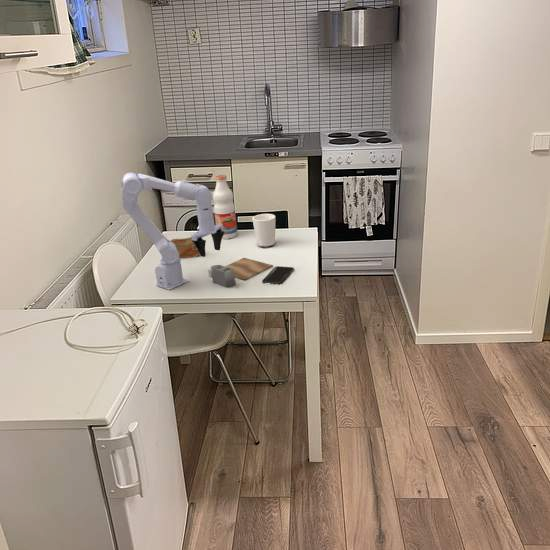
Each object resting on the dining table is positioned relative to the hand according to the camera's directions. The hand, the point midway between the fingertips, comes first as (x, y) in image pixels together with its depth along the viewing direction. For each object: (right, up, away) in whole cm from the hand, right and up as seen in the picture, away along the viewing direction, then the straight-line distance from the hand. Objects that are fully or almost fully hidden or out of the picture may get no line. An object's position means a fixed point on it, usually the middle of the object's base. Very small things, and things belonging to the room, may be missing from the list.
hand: (210, 253), depth 214 cm
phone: (+26, -9, -1) cm, 27 cm away
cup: (+21, +4, +31) cm, 38 cm away
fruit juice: (+3, +9, +46) cm, 47 cm away
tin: (-13, -1, +26) cm, 29 cm away
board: (+12, -6, +7) cm, 16 cm away
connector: (+6, -12, -4) cm, 13 cm away
